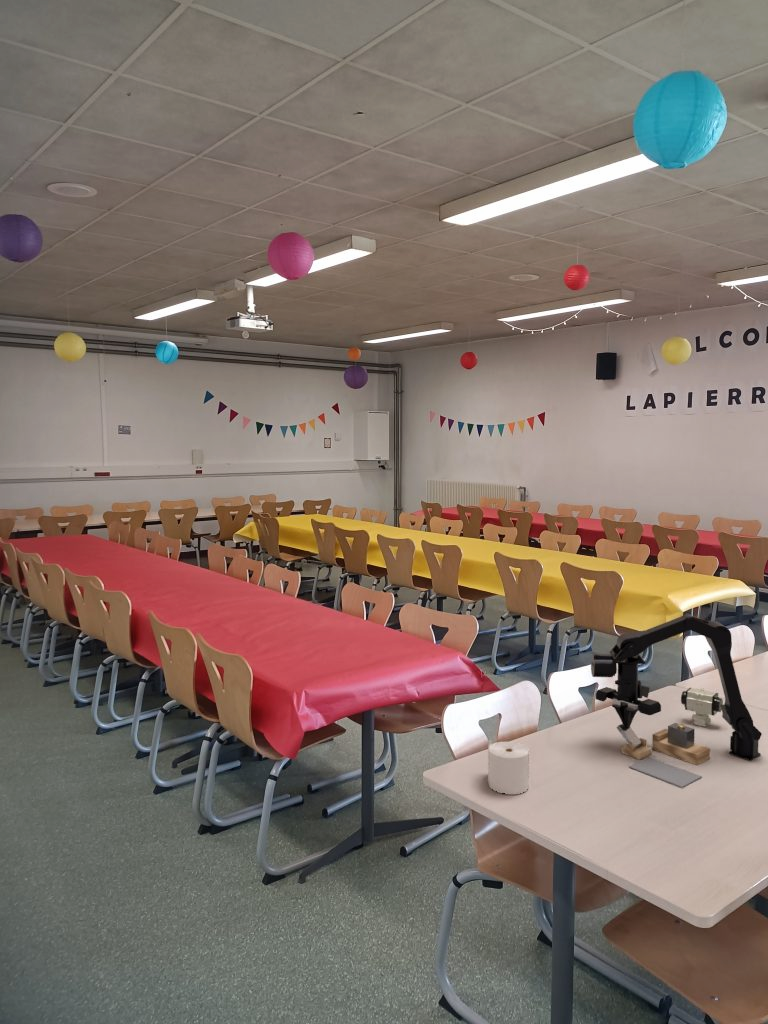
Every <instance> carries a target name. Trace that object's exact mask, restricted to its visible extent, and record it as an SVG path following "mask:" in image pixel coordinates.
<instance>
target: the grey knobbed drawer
mask: <svg viewBox="0 0 768 1024" xmlns="http://www.w3.org/2000/svg"><path fill="white" fill-rule="evenodd" d="M667 729H668V743H671V744H674V745H677V746H680V747H682V748H685V749H688V748H690V747H692V746H694V743H695V728H693V727H691V726H687V725H685V724H683V723H678V722H673V723H672V724H669V725H667Z"/></svg>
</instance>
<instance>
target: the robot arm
mask: <svg viewBox="0 0 768 1024" xmlns="http://www.w3.org/2000/svg"><path fill="white" fill-rule="evenodd" d="M688 631H689V632H690V631H692V632H694V633H697V634H699V635H700V636H704V638H705V640H706V642H707V644H708V646H709V647H710V649H711V651H712V652H713V654H714V655H713V656H714V659H715V663H716V666H717V671H718V675H719V679H720V682H721V687H722V690H723V695H724V703H723V705H720V707H721V712H722V713H721V714H722V719H724V720H725V722H726V723H727V724H729V726H731V729H732V730H733V731H732V732H731V735H730V736H729V737H730V740H729V741H730V742H729V746H730V747H729V749H730V751H728V754H729V755H731V756H735V757H737V758H741V759H743V760H748V761H753V760H755V759H757V758H759V757H761V753H760V752H759V741H760V740H761V737H762V735H763V734H762V732H761V731H760V730H759V729H758V728H757V727H756V726H755V725H754V720H753V718H752V716H751V714H750V712H749V710H748V708H747V706H746V705H745V703H744V701H743V699H742V695H741V691H740V687H739V683H738V678H737V675H736V671H735V667H734V664H733V663H734V662H733V659H732V656H731V655H732V654H731V653H732V646H733V645H732V644H733V642H732V640H733V639H732V632H731V630H730V629H729V628H728V627H727V626H725V625H724V624H722V623H721V622H719V621H716V620H715V621H714V620H713V621H708V620H705V619H702V618H699V617H696V616H693V615H692V614H690V613H685V614H682V615H681V616H679V617H677V618H674V619H671V620H669V621H666V622H664V623H661V624H658V625H655V626H653V627H650V628H648V629H646V630H640V631H639V630H638V631H637V630H636V631H630V632H625V633H621V634H620V635H619V636H618V637H617V639H616V642H615V644H614V645H613V647H612V648H611V650H610V651H609V653H608V654H606V653H605V654H604V653H603V654H601V653H594V652H593V653H592V658H591V662H590V672H591V676H592V677H593V678H614V677H615V676H616V674H617V680H614V685H617V689H615V688H611V687H607V686H605V687H603V688H600V689H598V690H596V691H595V700H596V701H600V702H605V701H607V699H609V700H613V703H612V704H611V707H612V708H614V710H615V712H616V714H617V715H618V717H619V719H620V721H621V724H623V725H624V727H625V729H629V728H630V727H631V724H632V723H633V720H634V718H635V715H636V714H637V713H638V712H639V713H640V714H643V715H646V716H653V715H655V714H658V713H661V712H662V705H661V703H660V702H659V701H658V700H654V699H650V698H648V697H649V694H650V693H649V692H650V686H649V687H647V686H645V685H642V682H641V680H639V665H645V664H646V660H644V659H643V657H641V655H640V654H642V653H644V652H645V651H646V650H647V649H648V648H650V647H651V646H653V645H655V644H658V643H660V642H663V641H664V640H667V639H670V638H673V637H676V636H678V635H680V634H684V633H686V632H688ZM643 698H646V699H644V700H640V699H643Z"/></svg>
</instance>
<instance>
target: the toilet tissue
mask: <svg viewBox="0 0 768 1024" xmlns="http://www.w3.org/2000/svg"><path fill="white" fill-rule="evenodd" d="M492 741H493V740H492V738H490V740H489V742H488V745H487V746H488V747H487V750H488V751H487V755H488V756H487V757H488V758H487V759H488V761H487V782H488V787H489V788H490V789H491V790H492V789H493V792H496V791H497V792H496V793H499V794H502V793H505V794H504V795H519V794H520V793H521V794H523V792H524V793H525V792H527V791H528V790H529V787H530V783H529V782H530V775H529V774H530V750H529V748H528V747H527V746H526V745H524V744H522V743H519V742H514V741H499V742H498V741H497V742H494V743H492ZM527 789H528V790H527Z"/></svg>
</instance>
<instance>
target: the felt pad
mask: <svg viewBox="0 0 768 1024" xmlns="http://www.w3.org/2000/svg"><path fill="white" fill-rule="evenodd" d="M628 768H629V769H631V770H633V771H636V772H639V773H642V774H644V775H647V776H650V777H652V778H655V779H657V780H660V781H661V782H664V783H667V784H670V785H672V786H674V787H678V788H681V789H684V788H685V787H687V786H689V785H690V784H693V783H694V782H697V781H698V780H701V779H702V778H703V775H700V774H697V773H694V772H691V771H689V770H686V769H683V768H680V767H678V766H674V765H672V764H669V763H667V762H664V761H661V760H658V759H656V758H653V757H651V756H647V757H645V758H643V759H641V760H639V761H637V762H634V763H632V764H630V765H628Z"/></svg>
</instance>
